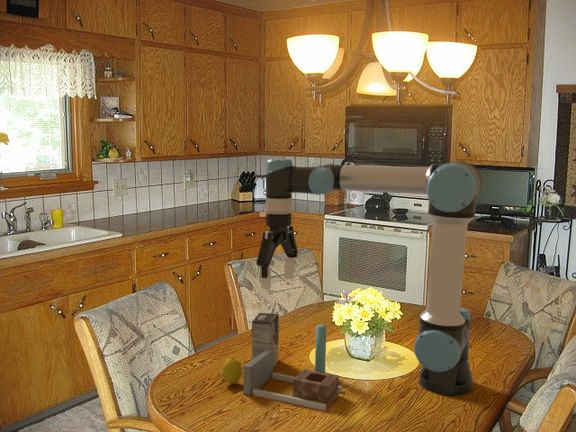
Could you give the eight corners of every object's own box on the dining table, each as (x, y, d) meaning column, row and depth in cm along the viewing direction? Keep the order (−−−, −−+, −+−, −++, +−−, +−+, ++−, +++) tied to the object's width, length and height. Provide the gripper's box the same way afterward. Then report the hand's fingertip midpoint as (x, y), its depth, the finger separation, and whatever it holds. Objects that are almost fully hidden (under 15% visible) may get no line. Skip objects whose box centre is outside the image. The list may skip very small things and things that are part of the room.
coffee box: (258, 361, 192) (259, 311, 189) (278, 363, 190) (279, 313, 188) (251, 372, 183) (251, 321, 180) (271, 374, 181) (272, 322, 179)
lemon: (234, 390, 170) (234, 362, 169) (218, 385, 173) (218, 358, 172) (245, 383, 175) (245, 356, 174) (230, 378, 178) (230, 352, 177)
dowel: (326, 377, 180) (327, 325, 178) (322, 381, 177) (324, 328, 175) (317, 376, 181) (318, 324, 179) (313, 379, 178) (314, 327, 176)
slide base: (346, 394, 169) (347, 363, 168) (326, 417, 155) (327, 383, 154) (265, 377, 179) (266, 348, 178) (240, 397, 166) (241, 366, 164)
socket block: (338, 394, 166) (338, 375, 165) (327, 406, 159) (328, 386, 158) (304, 387, 170) (304, 368, 169) (292, 398, 163) (292, 379, 162)
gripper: (288, 206, 189) (287, 273, 193) (244, 216, 168) (243, 291, 171) (309, 208, 186) (308, 276, 189) (267, 218, 164) (266, 295, 167)
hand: (277, 283), depth 180 cm, fingers open, 13 cm apart
